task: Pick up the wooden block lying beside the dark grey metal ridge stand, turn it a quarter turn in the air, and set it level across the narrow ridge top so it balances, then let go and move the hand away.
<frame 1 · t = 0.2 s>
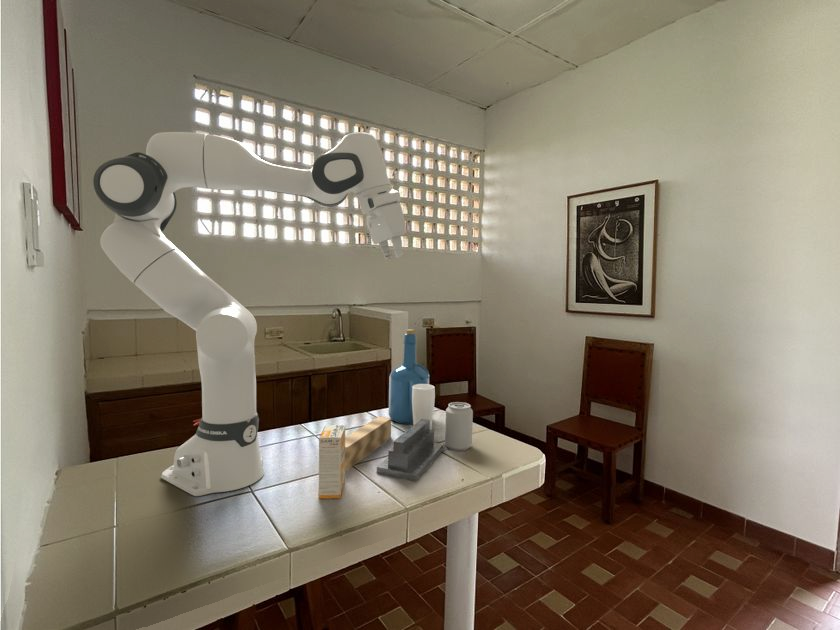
hand: (394, 257, 102), 51 cm above the table, tool tilted 20°, fingers open, 8 cm apart
cream cylinder: (422, 436, 123), on the table
ridge: (412, 460, 106), on the table
blue rounded container: (408, 419, 139), on the table
wooden block: (364, 452, 111), on the table
can: (458, 447, 116), on the table
supplement box: (332, 490, 90), on the table
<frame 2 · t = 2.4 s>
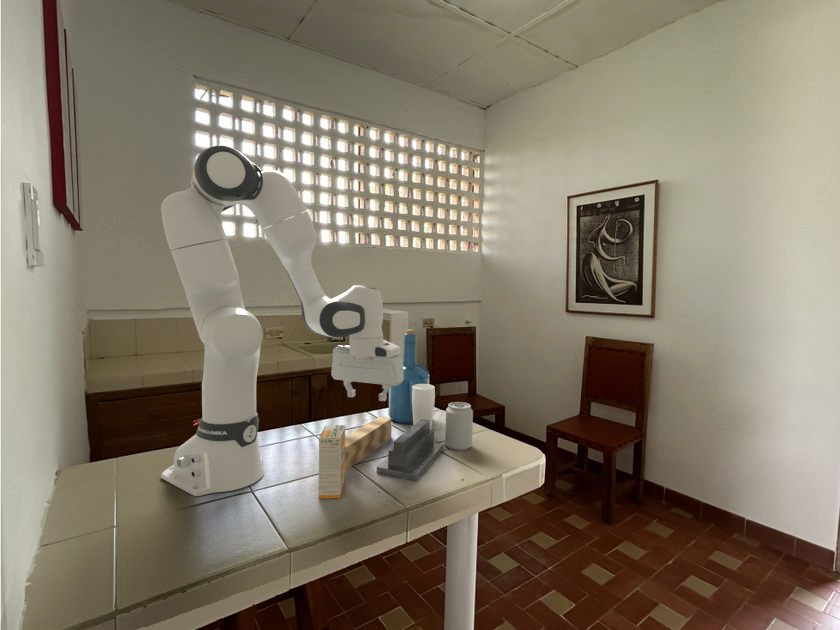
hand: (366, 398, 110), 14 cm above the table, tool pointing down, fingers open, 8 cm apart
nothing on the table moved.
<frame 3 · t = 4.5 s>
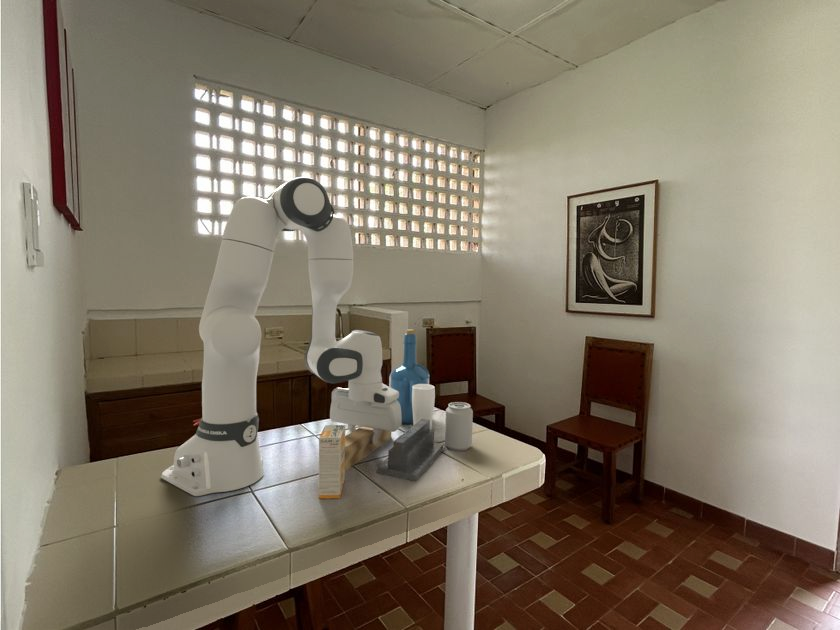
hand: (364, 441, 111), 3 cm above the table, tool pointing down, fingers closed on wooden block, 4 cm apart
wooden block: (364, 451, 111), on the table, touching gripper
everything else where it was.
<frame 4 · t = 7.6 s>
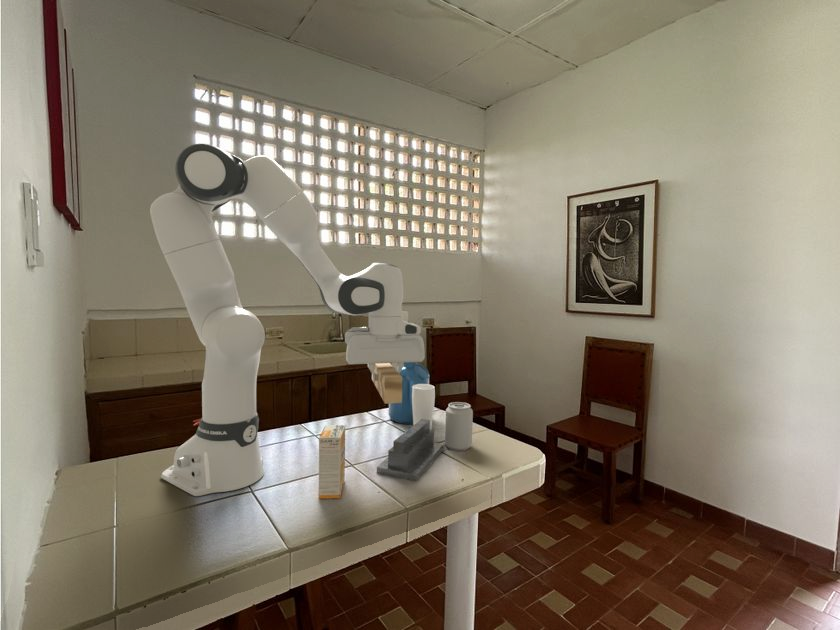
hand: (385, 379, 107), 20 cm above the table, tool pointing down, fingers closed on wooden block, 4 cm apart
wooden block: (385, 389, 107), point 17 cm above the table, touching gripper
everything else where it was.
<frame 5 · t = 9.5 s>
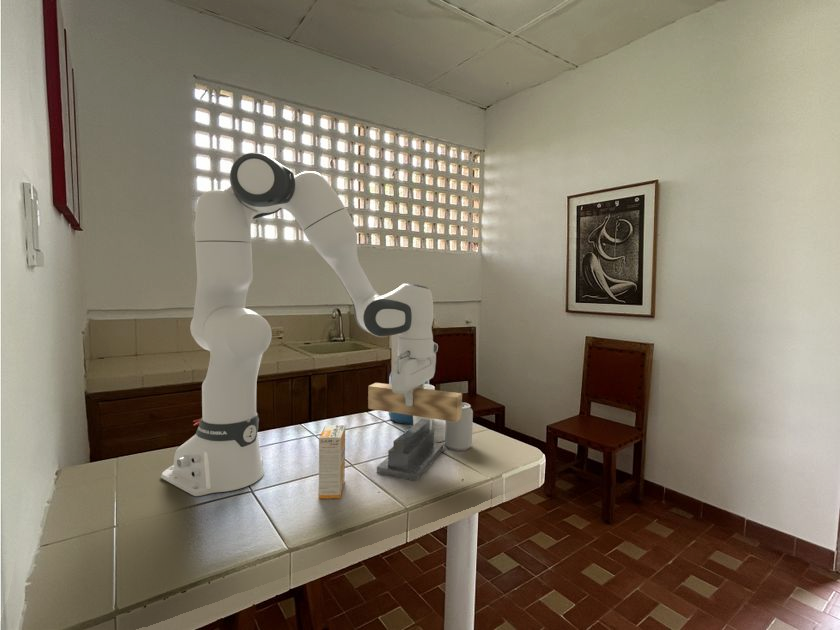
hand: (414, 402, 104), 15 cm above the table, tool pointing down, fingers closed on wooden block, 4 cm apart
wooden block: (413, 412, 105), point 12 cm above the table, touching gripper
everything else where it was.
when the fingers open (12 cm above the table, at t = 11.0 s): wooden block stays where it is, resting on ridge.
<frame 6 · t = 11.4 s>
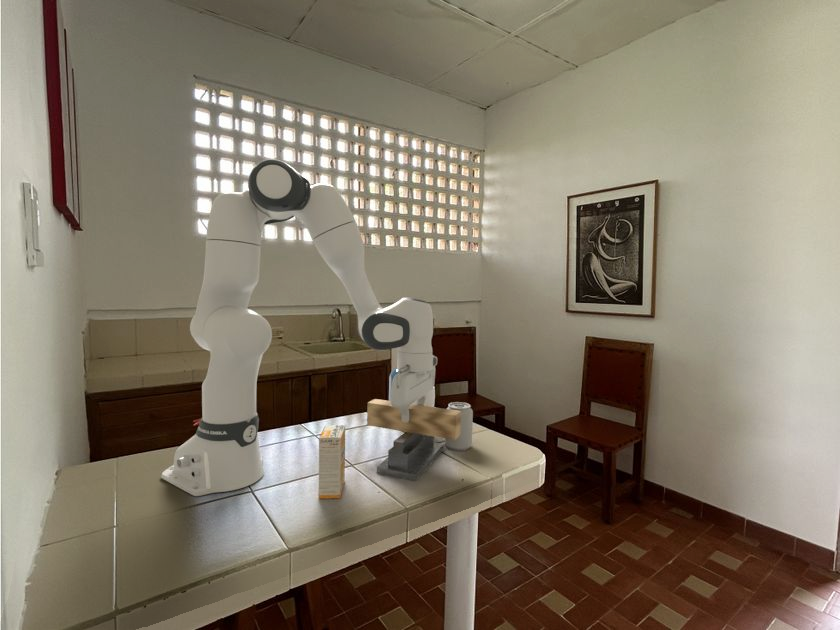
hand: (413, 416, 105), 12 cm above the table, tool pointing down, fingers open, 8 cm apart
wooden block: (412, 429, 105), point 8 cm above the table, touching ridge
everything else where it was.
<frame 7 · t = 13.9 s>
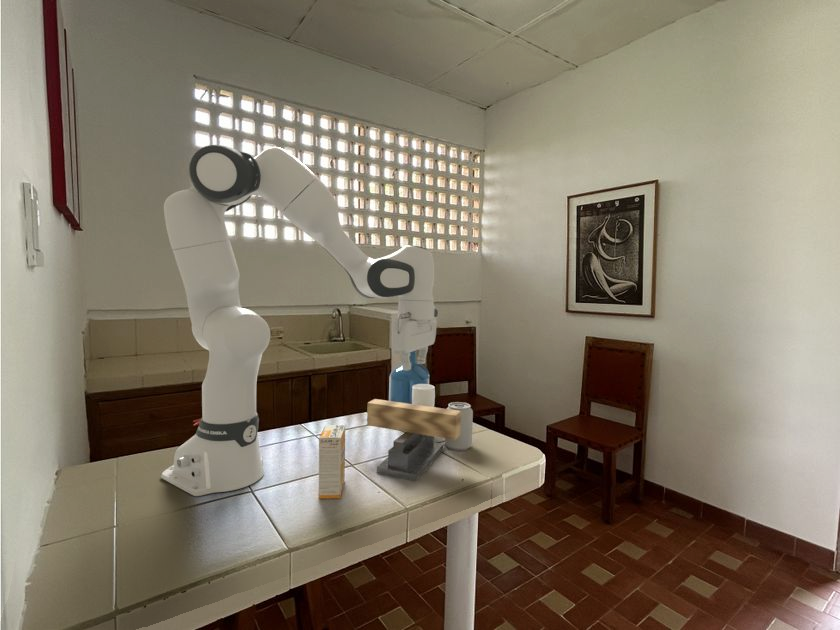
hand: (414, 366, 104), 24 cm above the table, tool pointing down, fingers open, 8 cm apart
nothing on the table moved.
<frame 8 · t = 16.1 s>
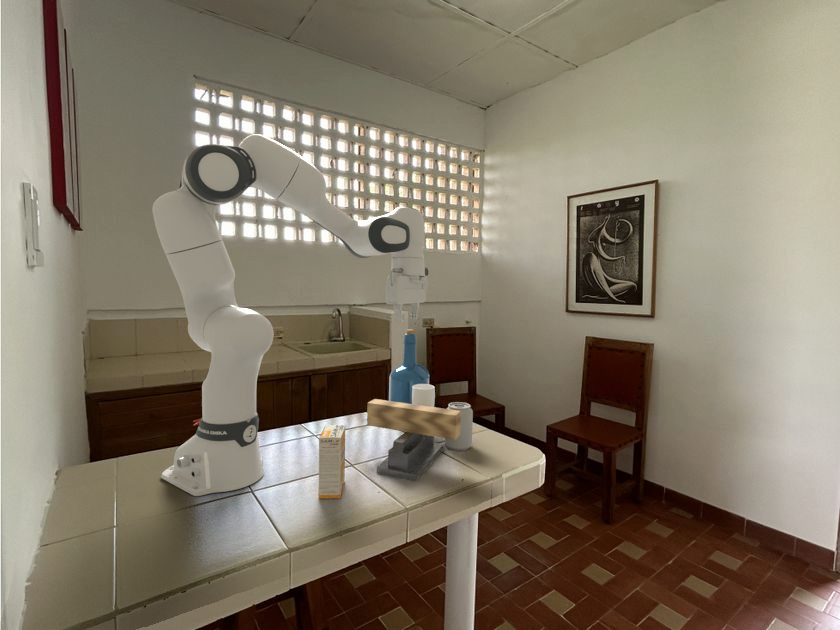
hand: (406, 320, 113), 35 cm above the table, tool pointing down, fingers open, 8 cm apart
nothing on the table moved.
at the end: wooden block inside the target area on the ridge (0.1 cm from its centre), point 8.0 cm above the ridge's base; wooden block tilted 0°; the gripper is holding nothing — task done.
